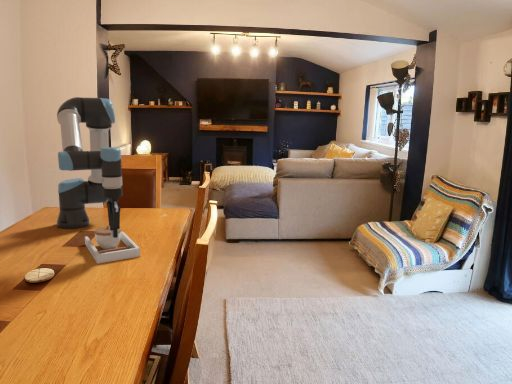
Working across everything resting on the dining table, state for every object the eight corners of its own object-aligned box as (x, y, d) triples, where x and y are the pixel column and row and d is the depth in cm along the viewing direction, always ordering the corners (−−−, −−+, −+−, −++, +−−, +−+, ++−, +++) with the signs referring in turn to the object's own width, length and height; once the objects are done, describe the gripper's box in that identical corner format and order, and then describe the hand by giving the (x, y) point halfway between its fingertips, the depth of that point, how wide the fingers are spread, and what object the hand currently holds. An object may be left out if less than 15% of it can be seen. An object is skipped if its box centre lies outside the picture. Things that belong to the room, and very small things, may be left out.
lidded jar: (113, 251, 163) (112, 230, 161) (90, 249, 165) (88, 228, 163) (126, 243, 173) (125, 223, 172) (104, 241, 175) (103, 221, 174)
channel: (85, 244, 171) (84, 236, 171) (123, 238, 180) (123, 231, 180) (97, 263, 150) (96, 255, 149) (140, 256, 159) (139, 248, 158)
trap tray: (96, 254, 159) (95, 251, 159) (129, 249, 166) (129, 246, 166) (100, 261, 152) (100, 257, 152) (134, 255, 160) (134, 251, 159)
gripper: (98, 185, 157) (101, 241, 162) (106, 190, 147) (109, 250, 151) (118, 183, 161) (120, 238, 166) (126, 189, 151) (128, 247, 155)
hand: (115, 244), depth 158 cm, fingers closed
